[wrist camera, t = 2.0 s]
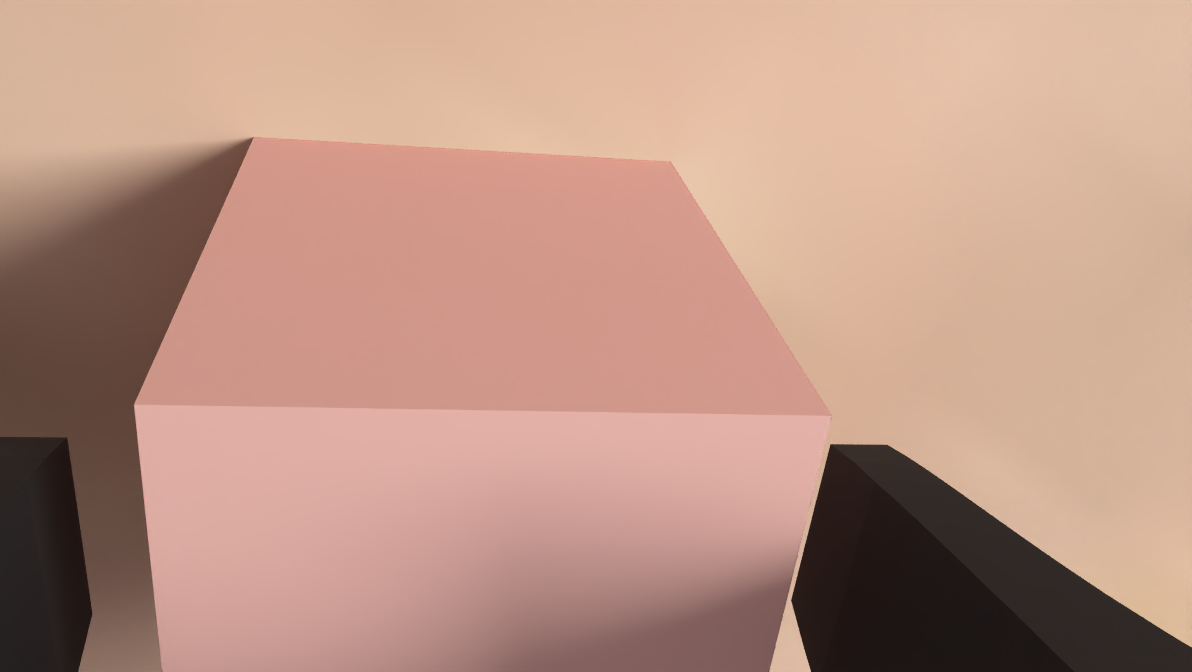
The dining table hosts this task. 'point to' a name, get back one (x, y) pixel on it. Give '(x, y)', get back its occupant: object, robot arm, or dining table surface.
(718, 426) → the coral block
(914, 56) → the dining table surface
